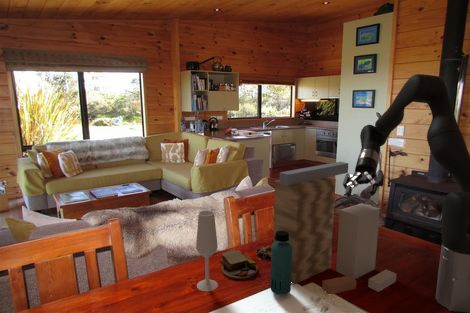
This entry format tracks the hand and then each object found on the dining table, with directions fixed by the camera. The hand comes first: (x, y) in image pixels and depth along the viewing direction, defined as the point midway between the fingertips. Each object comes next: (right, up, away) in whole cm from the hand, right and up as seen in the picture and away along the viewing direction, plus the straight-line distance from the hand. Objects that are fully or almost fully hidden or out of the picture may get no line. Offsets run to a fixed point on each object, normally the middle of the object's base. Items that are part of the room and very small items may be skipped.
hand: (359, 194), depth 121 cm
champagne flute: (-53, -27, -14) cm, 62 cm away
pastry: (-31, -24, +7) cm, 39 cm away
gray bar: (-17, +7, -7) cm, 20 cm away
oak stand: (-22, -25, -4) cm, 34 cm away
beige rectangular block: (+2, -27, -13) cm, 30 cm away
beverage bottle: (-31, -28, -18) cm, 46 cm away
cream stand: (-3, -25, -4) cm, 26 cm away
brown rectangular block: (-12, -28, -15) cm, 34 cm away
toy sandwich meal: (-44, -26, -4) cm, 51 cm away
